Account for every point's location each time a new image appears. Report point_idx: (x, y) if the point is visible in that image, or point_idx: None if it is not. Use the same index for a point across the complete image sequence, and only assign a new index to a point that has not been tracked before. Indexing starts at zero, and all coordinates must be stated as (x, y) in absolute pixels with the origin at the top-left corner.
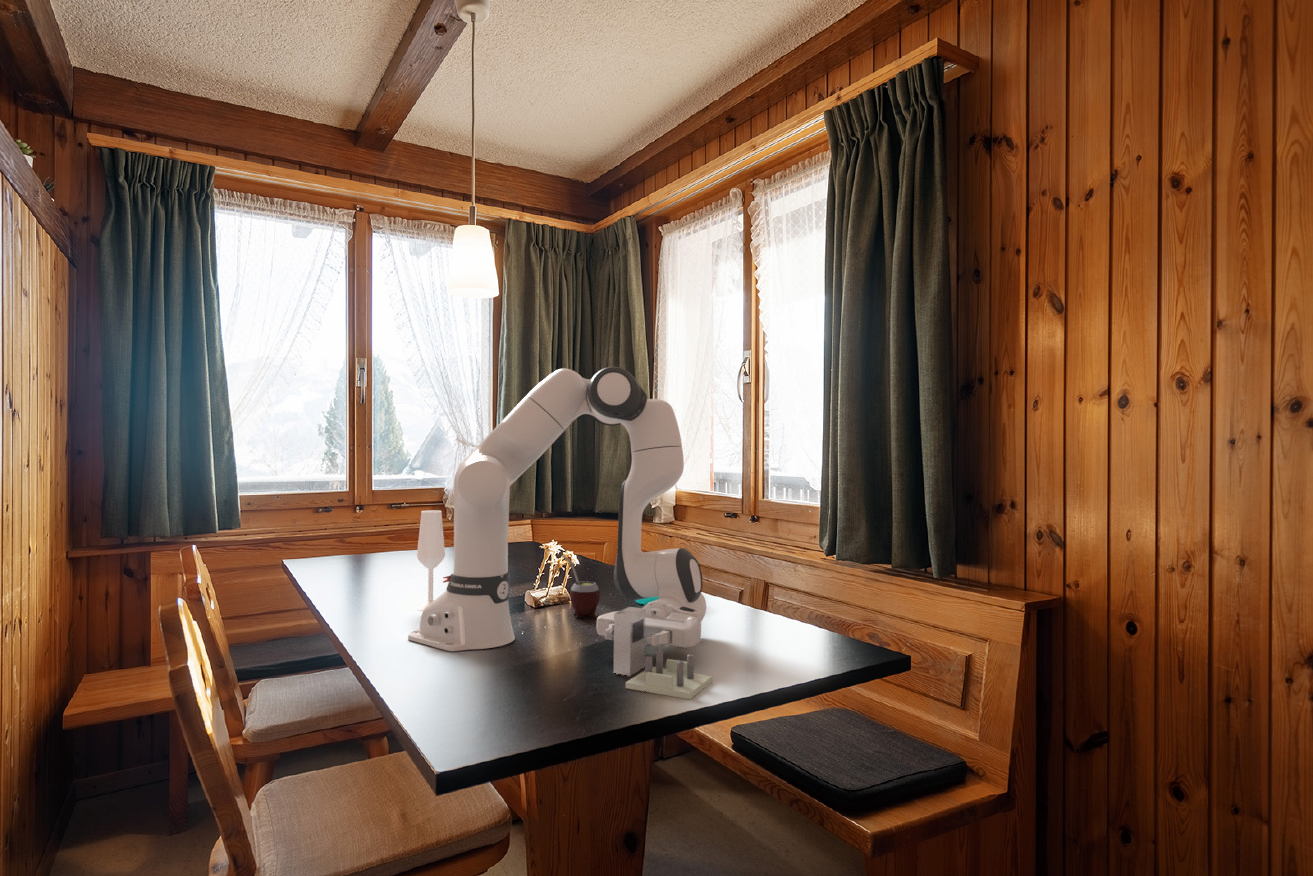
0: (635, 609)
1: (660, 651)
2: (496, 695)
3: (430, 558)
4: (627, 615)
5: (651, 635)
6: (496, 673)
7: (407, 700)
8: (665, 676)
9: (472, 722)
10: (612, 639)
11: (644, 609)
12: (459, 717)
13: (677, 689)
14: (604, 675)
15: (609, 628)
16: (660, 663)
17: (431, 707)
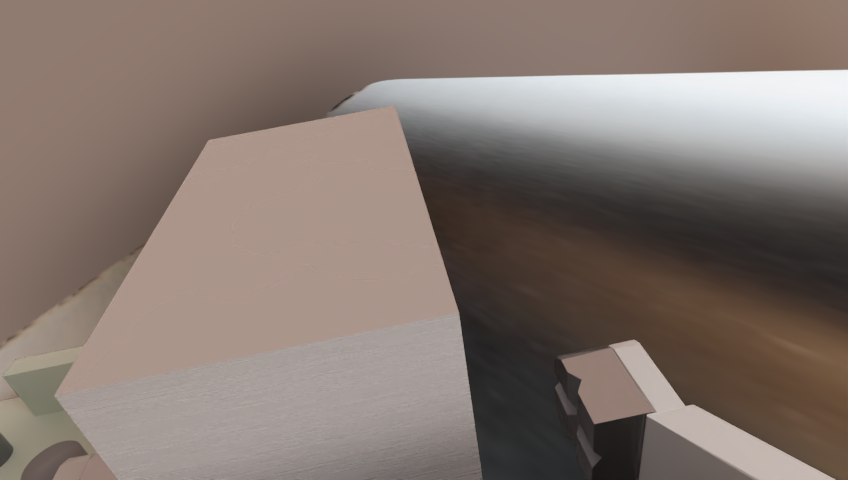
0: (248, 265)
1: (44, 452)
2: (584, 154)
3: None
4: (246, 138)
5: (98, 473)
6: (813, 199)
7: (682, 84)
8: (46, 354)
9: (477, 111)
10: (562, 423)
11: (81, 361)
12: (517, 106)
13: (11, 412)
14: (479, 419)
15: (651, 383)
16: None
17: (607, 95)
